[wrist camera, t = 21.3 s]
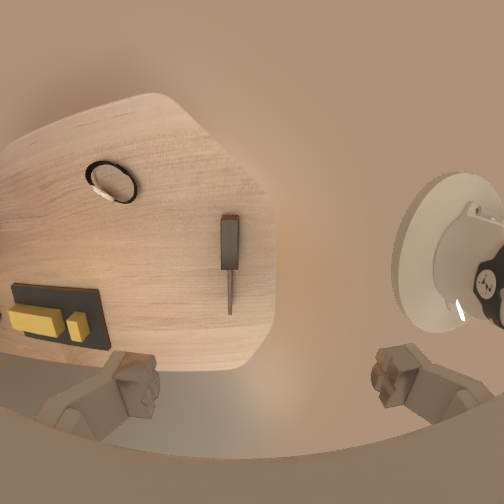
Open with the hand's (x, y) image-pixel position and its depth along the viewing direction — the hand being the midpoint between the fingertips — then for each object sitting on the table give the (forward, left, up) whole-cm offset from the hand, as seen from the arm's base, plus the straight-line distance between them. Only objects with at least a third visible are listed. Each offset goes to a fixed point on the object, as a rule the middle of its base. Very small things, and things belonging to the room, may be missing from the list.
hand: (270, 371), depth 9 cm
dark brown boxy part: (+2, +5, -27) cm, 27 cm away
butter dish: (+31, +14, -27) cm, 43 cm away
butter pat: (+25, +14, -26) cm, 39 cm away
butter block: (+35, +14, -26) cm, 45 cm away
